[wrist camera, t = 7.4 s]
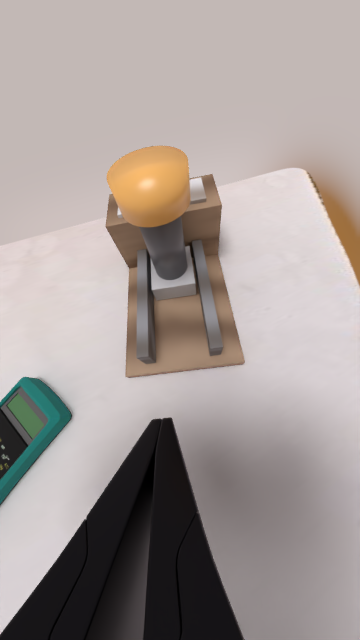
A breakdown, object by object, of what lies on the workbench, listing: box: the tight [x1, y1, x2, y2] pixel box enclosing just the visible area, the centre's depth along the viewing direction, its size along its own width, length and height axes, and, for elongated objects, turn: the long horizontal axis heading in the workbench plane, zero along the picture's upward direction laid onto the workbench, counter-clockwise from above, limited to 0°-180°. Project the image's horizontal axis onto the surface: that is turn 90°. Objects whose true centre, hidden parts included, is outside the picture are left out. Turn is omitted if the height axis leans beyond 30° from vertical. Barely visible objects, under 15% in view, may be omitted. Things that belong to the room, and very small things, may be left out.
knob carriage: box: [107, 146, 196, 300], centre depth 19 cm, size 6×6×13 cm
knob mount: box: [106, 174, 245, 378], centre depth 21 cm, size 21×13×8 cm, turn 6°
